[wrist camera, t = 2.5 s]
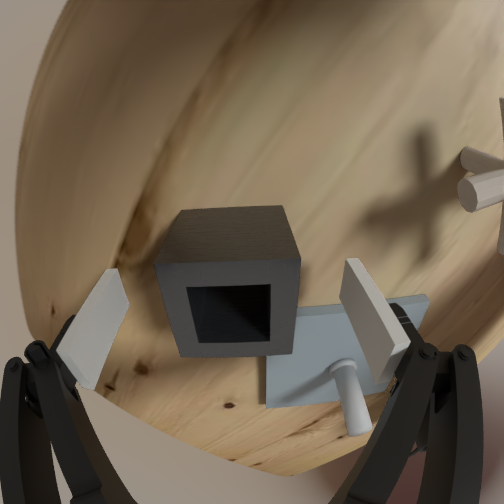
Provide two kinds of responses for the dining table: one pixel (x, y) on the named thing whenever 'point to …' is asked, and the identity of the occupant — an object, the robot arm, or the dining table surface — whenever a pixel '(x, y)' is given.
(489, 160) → the light grey toy jack
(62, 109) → the dining table surface
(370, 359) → the robot arm
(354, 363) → the post block
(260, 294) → the collar
